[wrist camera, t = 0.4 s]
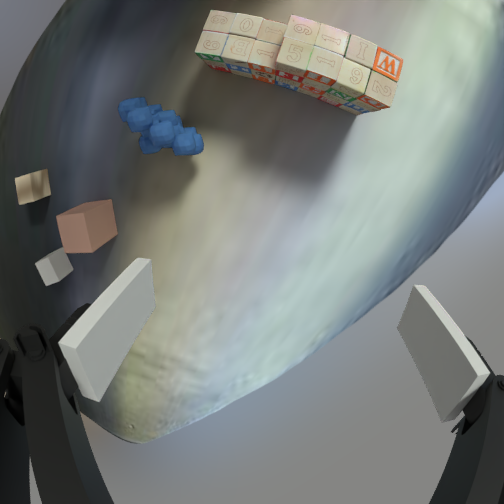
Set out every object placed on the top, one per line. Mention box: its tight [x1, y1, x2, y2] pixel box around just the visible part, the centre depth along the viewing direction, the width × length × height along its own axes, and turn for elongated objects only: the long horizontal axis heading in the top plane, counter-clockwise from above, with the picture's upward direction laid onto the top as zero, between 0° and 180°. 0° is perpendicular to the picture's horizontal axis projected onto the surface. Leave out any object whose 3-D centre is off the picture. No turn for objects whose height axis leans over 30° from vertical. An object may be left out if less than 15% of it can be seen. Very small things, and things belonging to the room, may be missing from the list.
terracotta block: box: [56, 199, 118, 253], centre depth 38 cm, size 6×6×8 cm
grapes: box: [118, 97, 204, 156], centre depth 31 cm, size 12×7×12 cm, turn 51°
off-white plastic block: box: [35, 247, 74, 286], centre depth 44 cm, size 5×5×5 cm
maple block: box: [15, 169, 51, 205], centre depth 38 cm, size 5×5×5 cm
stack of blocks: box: [195, 10, 403, 115], centre depth 26 cm, size 21×6×12 cm, turn 73°
